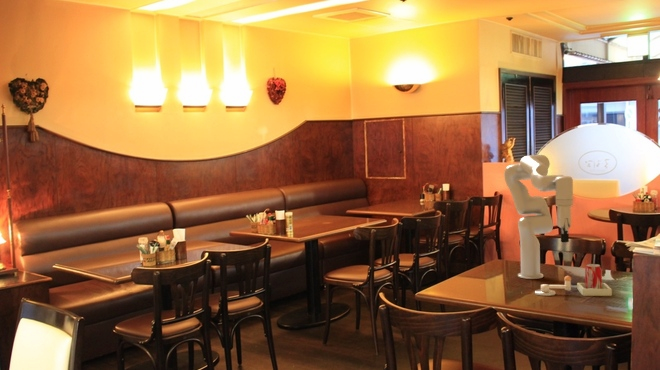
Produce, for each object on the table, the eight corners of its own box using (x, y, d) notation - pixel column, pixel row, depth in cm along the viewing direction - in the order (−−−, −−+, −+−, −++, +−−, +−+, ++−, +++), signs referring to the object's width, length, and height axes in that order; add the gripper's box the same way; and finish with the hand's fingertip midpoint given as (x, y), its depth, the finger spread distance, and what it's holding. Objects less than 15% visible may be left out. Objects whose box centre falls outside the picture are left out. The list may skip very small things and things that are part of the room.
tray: (577, 289, 300) (577, 282, 300) (604, 289, 298) (604, 282, 298) (582, 295, 288) (582, 289, 288) (611, 295, 286) (611, 289, 286)
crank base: (533, 291, 299) (533, 288, 299) (553, 291, 298) (553, 288, 298) (536, 296, 291) (536, 293, 290) (557, 296, 289) (556, 293, 289)
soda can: (603, 292, 289) (603, 266, 289) (586, 292, 291) (586, 266, 290) (600, 289, 296) (600, 263, 295) (584, 288, 298) (583, 263, 297)
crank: (540, 289, 296) (540, 274, 296) (570, 290, 293) (570, 274, 293) (541, 291, 293) (541, 276, 292) (572, 292, 290) (571, 276, 289)
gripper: (553, 201, 303) (553, 239, 305) (558, 204, 289) (559, 244, 290) (569, 201, 302) (570, 239, 303) (576, 204, 287) (576, 244, 289)
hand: (564, 241), depth 297 cm, fingers closed
